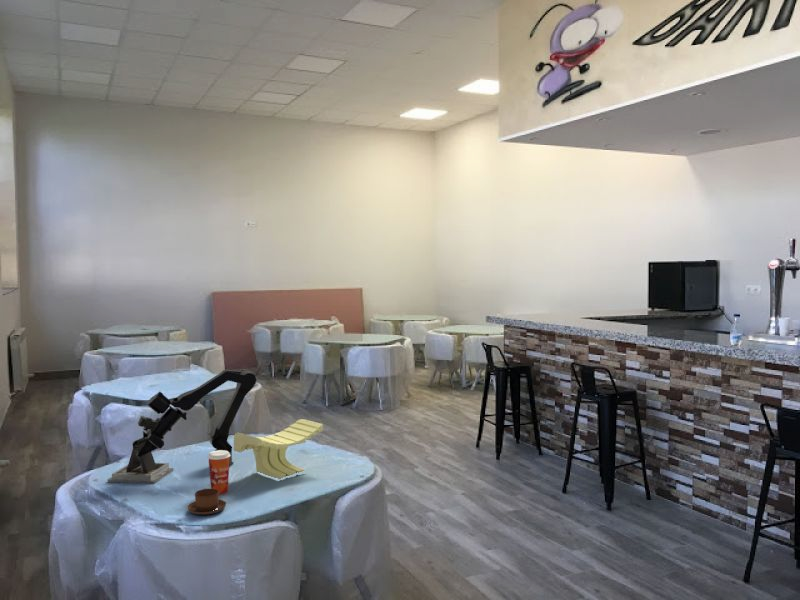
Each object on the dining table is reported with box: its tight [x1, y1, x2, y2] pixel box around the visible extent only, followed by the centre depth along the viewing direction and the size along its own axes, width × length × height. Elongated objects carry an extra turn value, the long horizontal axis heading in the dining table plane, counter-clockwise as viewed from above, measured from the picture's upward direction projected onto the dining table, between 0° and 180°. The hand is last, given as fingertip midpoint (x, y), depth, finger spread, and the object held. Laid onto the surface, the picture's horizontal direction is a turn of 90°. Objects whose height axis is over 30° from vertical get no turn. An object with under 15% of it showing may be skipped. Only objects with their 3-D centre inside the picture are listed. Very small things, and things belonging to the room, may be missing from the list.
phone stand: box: [126, 436, 157, 473], centre depth 253 cm, size 9×6×12 cm, turn 77°
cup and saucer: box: [187, 488, 227, 516], centre depth 218 cm, size 12×12×6 cm
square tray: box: [106, 462, 174, 485], centre depth 253 cm, size 18×16×3 cm
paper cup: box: [207, 450, 231, 496], centre depth 236 cm, size 8×8×14 cm
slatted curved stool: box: [233, 418, 324, 479], centre depth 257 cm, size 30×16×18 cm, turn 136°
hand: (137, 453), depth 252 cm, fingers closed on phone stand, 6 cm apart
